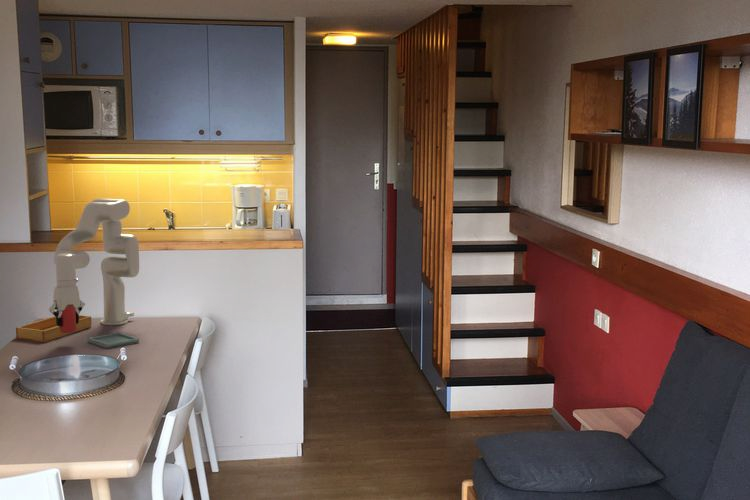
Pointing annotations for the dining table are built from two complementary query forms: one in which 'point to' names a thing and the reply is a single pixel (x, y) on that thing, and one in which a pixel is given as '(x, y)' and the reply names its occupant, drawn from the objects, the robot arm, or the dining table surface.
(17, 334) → the tray
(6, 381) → the dining table surface
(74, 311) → the beer can
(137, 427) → the dining table surface
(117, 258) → the robot arm
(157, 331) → the dining table surface
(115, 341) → the slate tray
